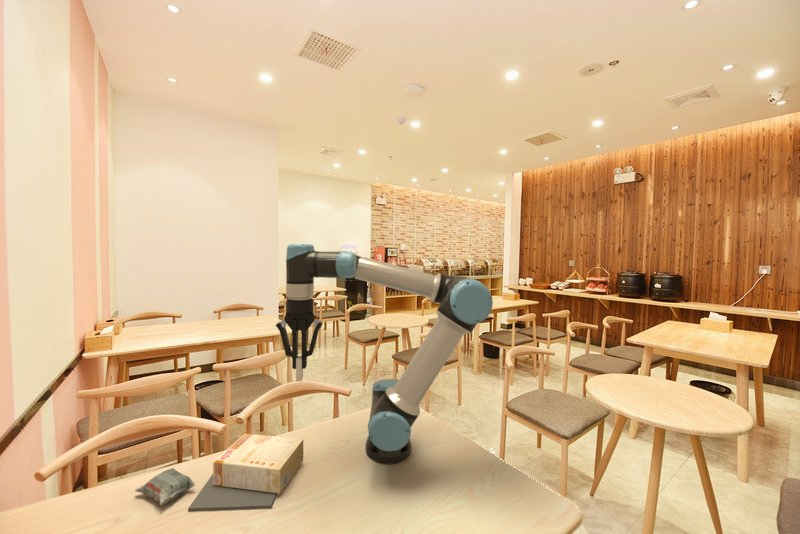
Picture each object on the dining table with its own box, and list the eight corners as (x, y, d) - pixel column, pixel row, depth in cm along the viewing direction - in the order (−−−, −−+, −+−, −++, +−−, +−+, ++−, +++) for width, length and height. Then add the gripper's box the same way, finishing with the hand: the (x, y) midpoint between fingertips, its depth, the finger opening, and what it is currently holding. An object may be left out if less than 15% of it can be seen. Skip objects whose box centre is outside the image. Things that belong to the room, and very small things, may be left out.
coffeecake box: (303, 460, 103) (244, 453, 105) (304, 438, 102) (245, 431, 105) (279, 495, 88) (212, 486, 91) (280, 469, 88) (212, 460, 90)
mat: (289, 461, 103) (289, 459, 103) (271, 508, 84) (271, 505, 84) (222, 463, 102) (222, 460, 102) (188, 511, 83) (188, 508, 83)
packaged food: (160, 514, 82) (161, 494, 82) (134, 497, 87) (134, 478, 87) (196, 492, 90) (196, 474, 89) (170, 478, 95) (170, 461, 95)
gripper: (324, 296, 100) (323, 374, 101) (279, 296, 98) (279, 375, 99) (321, 299, 92) (321, 383, 93) (273, 299, 91) (272, 385, 92)
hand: (299, 379), depth 96 cm, fingers closed
